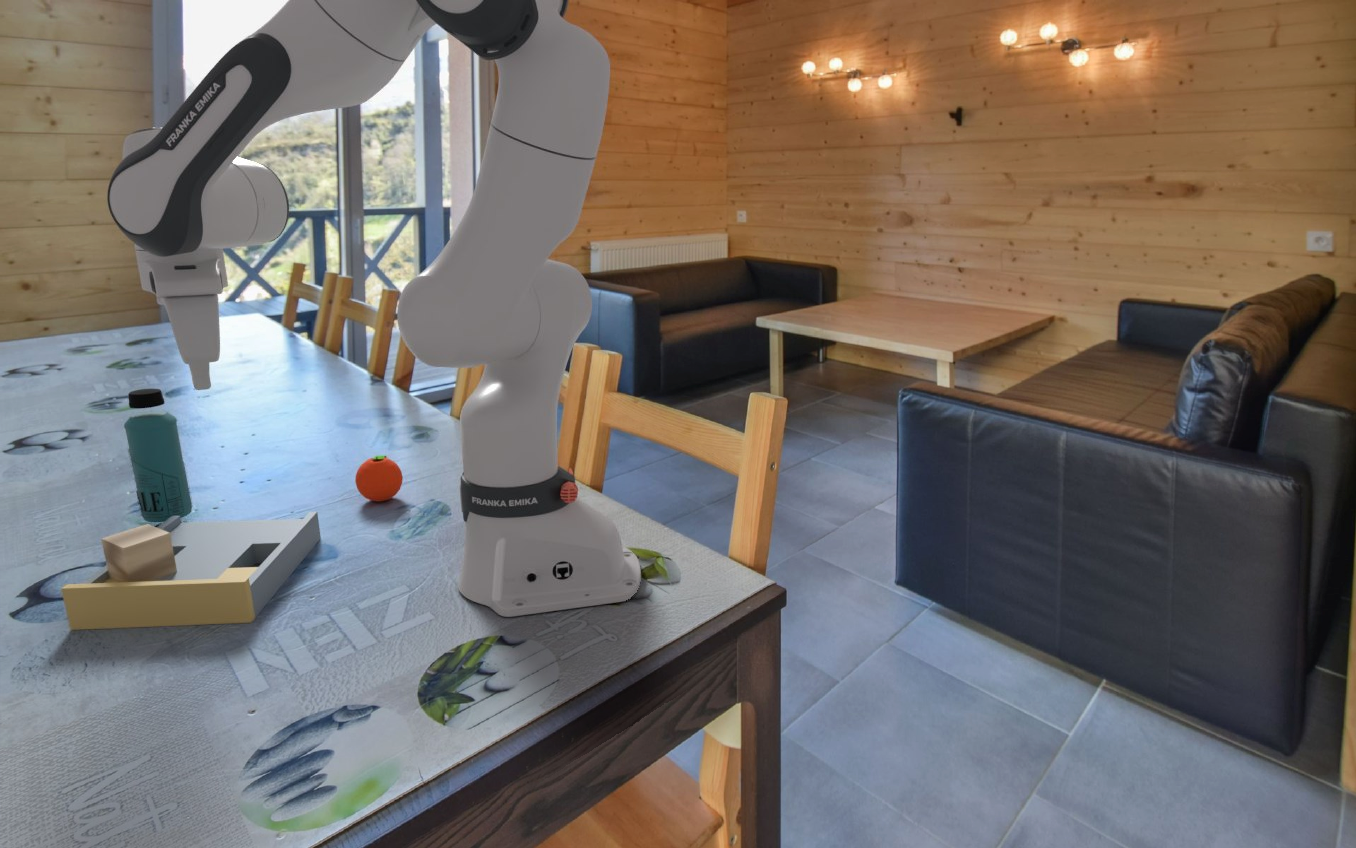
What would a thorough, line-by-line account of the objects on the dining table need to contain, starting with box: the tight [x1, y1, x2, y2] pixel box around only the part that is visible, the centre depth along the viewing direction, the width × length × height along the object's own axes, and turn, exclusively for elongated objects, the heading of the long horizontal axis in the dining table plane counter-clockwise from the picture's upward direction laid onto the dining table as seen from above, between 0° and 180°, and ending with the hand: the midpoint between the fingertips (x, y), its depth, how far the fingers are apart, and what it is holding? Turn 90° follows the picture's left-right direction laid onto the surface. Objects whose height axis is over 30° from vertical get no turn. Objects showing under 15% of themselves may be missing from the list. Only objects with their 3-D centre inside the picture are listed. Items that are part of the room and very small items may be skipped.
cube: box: [100, 523, 177, 582], centre depth 93 cm, size 5×5×5 cm
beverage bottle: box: [123, 388, 194, 523], centre depth 113 cm, size 6×7×20 cm
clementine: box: [354, 455, 403, 502], centre depth 125 cm, size 8×7×7 cm
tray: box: [61, 511, 322, 631], centre depth 99 cm, size 23×19×5 cm
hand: (202, 387), depth 99 cm, fingers closed
